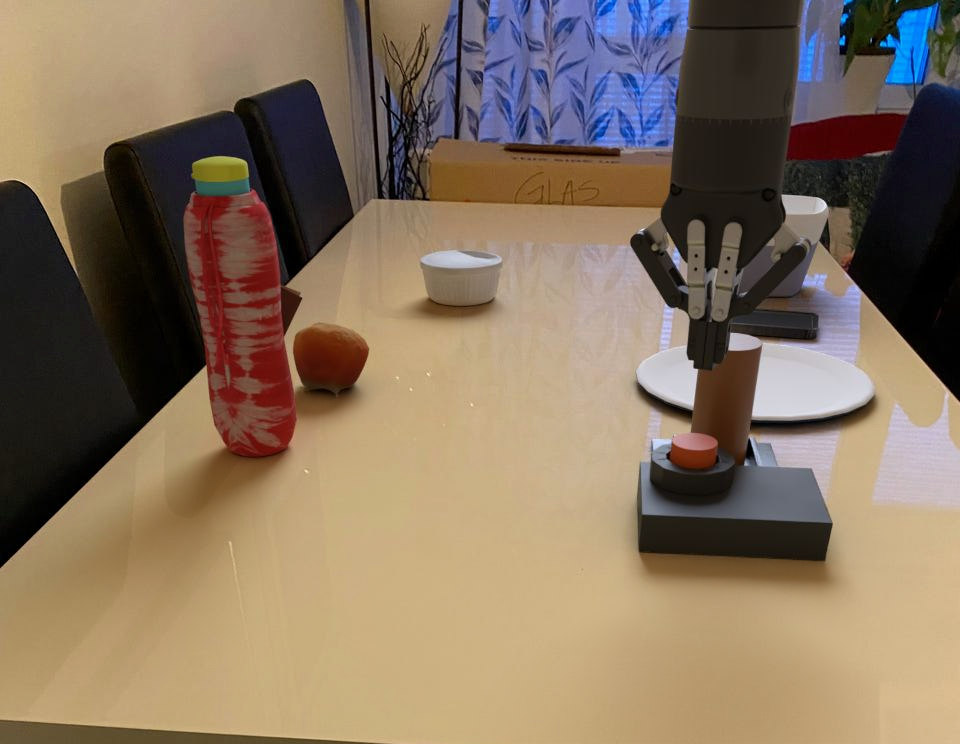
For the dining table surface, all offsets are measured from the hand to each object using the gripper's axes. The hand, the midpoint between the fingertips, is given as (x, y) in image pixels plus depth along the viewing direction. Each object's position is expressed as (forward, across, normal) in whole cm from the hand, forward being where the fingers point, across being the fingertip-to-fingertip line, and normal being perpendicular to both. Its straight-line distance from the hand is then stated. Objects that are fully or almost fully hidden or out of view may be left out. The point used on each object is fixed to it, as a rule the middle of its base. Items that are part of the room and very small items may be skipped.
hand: (705, 366), depth 74 cm
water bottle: (+12, +41, +1) cm, 43 cm away
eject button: (+8, 0, 0) cm, 8 cm away
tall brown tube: (+12, 0, -10) cm, 15 cm away
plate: (+13, +2, -33) cm, 35 cm away
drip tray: (+12, 0, -10) cm, 16 cm away
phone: (+13, +6, -55) cm, 57 cm away
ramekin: (+12, +46, -53) cm, 72 cm away
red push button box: (+12, -3, +1) cm, 13 cm away
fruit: (+12, +44, -15) cm, 48 cm away
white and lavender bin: (+13, +9, -75) cm, 77 cm away
